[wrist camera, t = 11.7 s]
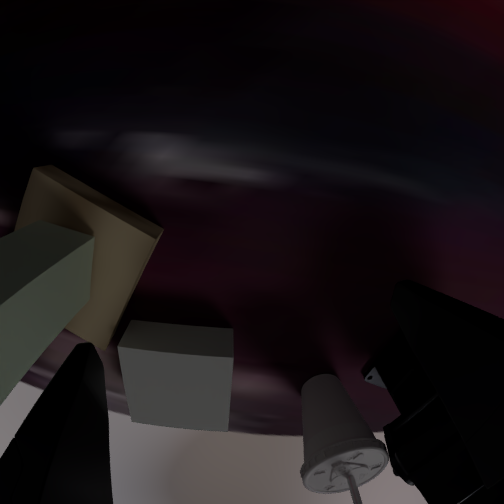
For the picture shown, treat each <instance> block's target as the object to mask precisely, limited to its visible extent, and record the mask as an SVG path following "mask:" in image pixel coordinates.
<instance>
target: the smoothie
mask: <svg viewBox="0 0 504 504" xmlns="http://www.w3.org/2000/svg"><path fill="white" fill-rule="evenodd" d="M301 399H302V419H303V442H304V464H303V465H302V468H301V470H300V474H301V477H302V480H303V485H304V486H305V488H307V489H308V490H310V491H312V492H316V493H323V494H329V493H330V494H331V493H339V492H344V491H347V490H350V492H351V496H352V499H353V503H354V504H362V501H361V497H360V494H359V491H358V487H359V486H362V485H363V484H365V483H367V482H369V481H370V480H372V479H374V478H375V477H376V476H378V475H379V474H380V473H381V472H382V471H383V470H384V468H385V467H386V466H387V464H388V461H389V455H388V452H387V449H386V446H385V444H384V443H383V442H382V441H380V440H378V439H376V438H375V436H374V434H373V433H372V431H371V429H370V428H369V426H368V425H367V423H366V422H365V420H364V418H363V417H362V415H361V414H360V412H359V410H358V409H357V407H356V406H355V404H354V402H353V401H352V399H351V398H350V396H349V394H348V393H347V391H346V390H345V388H344V386H343V385H342V383H341V382H340V380H339V379H338V378H337V377H336V376H334V375H331V374H320V375H317V376H314V377H312V378H310V379H309V380H308V381H306V382H305V384H304V385H303V387H302V389H301Z"/></svg>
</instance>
